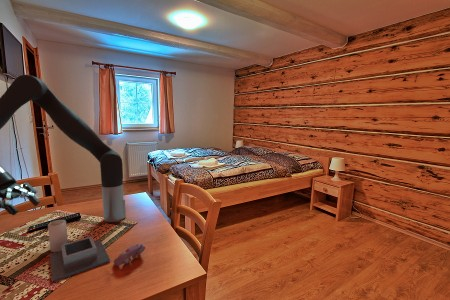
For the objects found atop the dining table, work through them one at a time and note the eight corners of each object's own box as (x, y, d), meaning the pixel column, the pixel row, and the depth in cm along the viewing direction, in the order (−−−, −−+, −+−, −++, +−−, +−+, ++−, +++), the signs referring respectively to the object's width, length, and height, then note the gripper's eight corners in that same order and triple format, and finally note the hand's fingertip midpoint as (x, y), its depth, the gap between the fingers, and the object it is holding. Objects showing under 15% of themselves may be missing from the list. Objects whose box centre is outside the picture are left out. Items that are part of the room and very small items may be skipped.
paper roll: (67, 242, 90) (65, 218, 89) (68, 248, 86) (66, 223, 85) (50, 246, 87) (47, 222, 85) (50, 253, 83) (48, 227, 81)
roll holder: (100, 241, 91) (99, 230, 90) (110, 261, 79) (109, 248, 78) (50, 257, 81) (48, 244, 80) (52, 282, 69) (51, 267, 68)
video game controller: (119, 273, 75) (124, 259, 73) (111, 263, 77) (116, 249, 75) (143, 258, 84) (148, 245, 81) (136, 249, 85) (141, 236, 83)
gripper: (-21, 176, 77) (13, 210, 78) (20, 167, 91) (49, 195, 92) (-33, 190, 78) (1, 223, 79) (10, 179, 92) (38, 207, 93)
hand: (27, 208), depth 85 cm, fingers open, 8 cm apart
